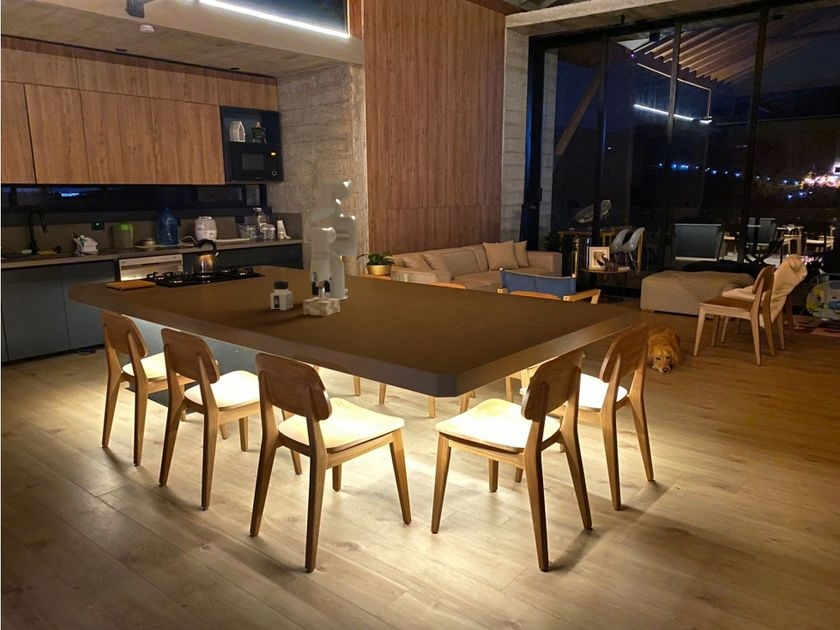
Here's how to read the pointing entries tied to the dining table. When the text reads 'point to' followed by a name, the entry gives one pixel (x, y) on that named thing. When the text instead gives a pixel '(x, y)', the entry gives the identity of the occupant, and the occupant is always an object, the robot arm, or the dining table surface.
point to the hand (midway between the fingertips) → (321, 293)
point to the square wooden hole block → (321, 306)
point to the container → (281, 296)
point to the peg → (321, 293)
